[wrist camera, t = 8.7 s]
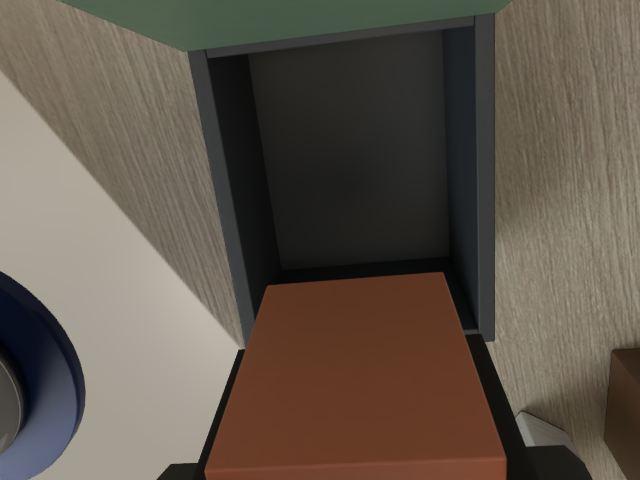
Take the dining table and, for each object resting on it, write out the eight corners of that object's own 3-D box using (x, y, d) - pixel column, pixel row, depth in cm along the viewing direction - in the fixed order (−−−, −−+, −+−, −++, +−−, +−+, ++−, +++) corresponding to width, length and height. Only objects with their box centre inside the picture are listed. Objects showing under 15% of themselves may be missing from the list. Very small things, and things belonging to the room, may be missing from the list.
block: (290, 424, 17) (251, 662, 11) (266, 284, 16) (202, 470, 9) (449, 416, 17) (505, 660, 10) (443, 270, 15) (507, 458, 9)
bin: (460, 261, 36) (495, 341, 27) (273, 276, 37) (247, 358, 28) (453, 7, 30) (495, 1, 21) (233, 35, 32) (184, 40, 23)
